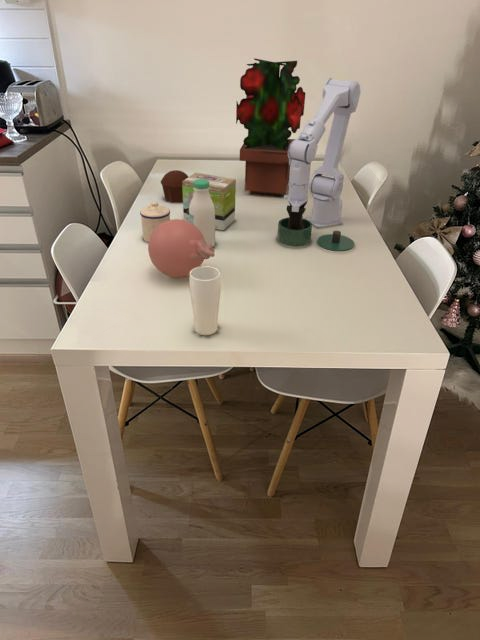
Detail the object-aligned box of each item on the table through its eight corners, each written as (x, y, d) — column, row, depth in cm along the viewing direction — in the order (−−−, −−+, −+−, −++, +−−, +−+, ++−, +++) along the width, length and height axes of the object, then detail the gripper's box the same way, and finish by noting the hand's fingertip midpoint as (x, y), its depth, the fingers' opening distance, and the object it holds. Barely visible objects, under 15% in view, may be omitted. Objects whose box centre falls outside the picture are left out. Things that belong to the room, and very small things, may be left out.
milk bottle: (218, 241, 153) (218, 178, 142) (209, 252, 147) (208, 187, 136) (196, 238, 155) (194, 175, 144) (186, 248, 149) (183, 183, 138)
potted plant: (234, 197, 185) (237, 64, 160) (244, 179, 203) (247, 57, 178) (293, 202, 183) (305, 67, 157) (297, 183, 201) (308, 59, 175)
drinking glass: (203, 318, 118) (202, 262, 109) (226, 328, 115) (226, 271, 106) (185, 331, 113) (182, 274, 105) (208, 342, 110) (207, 283, 101)
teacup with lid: (167, 245, 150) (164, 209, 144) (138, 242, 151) (134, 206, 145) (177, 229, 160) (175, 195, 154) (150, 227, 161) (147, 192, 155)
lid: (353, 239, 157) (355, 226, 155) (353, 254, 148) (356, 241, 145) (317, 235, 159) (319, 223, 156) (315, 251, 149) (317, 238, 147)
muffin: (190, 204, 179) (189, 177, 173) (159, 203, 178) (157, 176, 173) (193, 193, 188) (192, 167, 183) (164, 192, 188) (162, 166, 183)
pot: (311, 235, 158) (313, 218, 155) (309, 249, 150) (311, 232, 147) (279, 232, 160) (280, 215, 157) (275, 246, 151) (276, 228, 148)
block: (289, 226, 155) (290, 214, 152) (301, 227, 154) (302, 215, 152) (287, 231, 151) (288, 219, 149) (300, 233, 151) (301, 220, 149)
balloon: (193, 299, 124) (191, 244, 116) (138, 275, 134) (133, 222, 126) (230, 277, 135) (231, 224, 126) (177, 256, 145) (174, 206, 136)
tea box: (182, 223, 164) (180, 180, 156) (196, 213, 172) (195, 171, 164) (224, 231, 160) (224, 187, 151) (235, 220, 167) (236, 177, 159)
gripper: (288, 173, 151) (284, 215, 158) (282, 189, 139) (279, 233, 147) (311, 175, 150) (306, 217, 157) (307, 191, 138) (303, 236, 146)
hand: (295, 225), depth 152 cm, fingers closed on block, 4 cm apart
